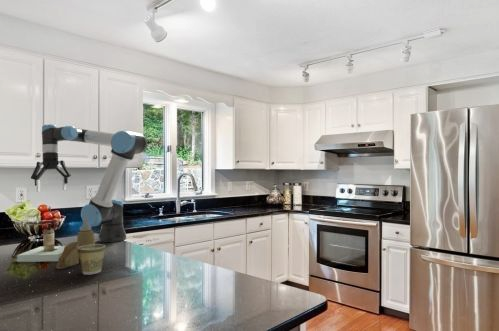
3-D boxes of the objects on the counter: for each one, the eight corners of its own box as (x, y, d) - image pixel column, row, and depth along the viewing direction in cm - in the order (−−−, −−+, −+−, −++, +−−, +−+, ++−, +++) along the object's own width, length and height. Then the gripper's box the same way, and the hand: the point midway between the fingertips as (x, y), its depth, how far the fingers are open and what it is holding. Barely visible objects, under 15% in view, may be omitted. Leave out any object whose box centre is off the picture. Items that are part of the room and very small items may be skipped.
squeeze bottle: (98, 256, 169) (98, 217, 169) (89, 260, 161) (89, 219, 161) (82, 255, 170) (82, 217, 170) (72, 260, 162) (72, 219, 162)
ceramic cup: (95, 276, 136) (94, 249, 136) (71, 275, 138) (71, 249, 138) (114, 267, 149) (114, 242, 149) (93, 266, 151) (92, 242, 151)
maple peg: (56, 255, 172) (56, 230, 172) (51, 257, 167) (50, 231, 167) (47, 255, 171) (46, 230, 172) (41, 257, 167) (41, 231, 167)
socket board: (77, 252, 178) (77, 245, 178) (58, 261, 160) (58, 254, 160) (40, 252, 178) (40, 246, 178) (17, 261, 160) (17, 255, 160)
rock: (58, 265, 144) (84, 257, 151) (51, 247, 147) (77, 240, 154) (54, 277, 151) (79, 269, 157) (48, 259, 154) (73, 251, 161)
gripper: (76, 152, 207) (77, 189, 206) (30, 154, 204) (31, 192, 203) (71, 150, 200) (72, 188, 198) (23, 153, 197) (24, 192, 195)
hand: (51, 190), depth 200 cm, fingers open, 13 cm apart
